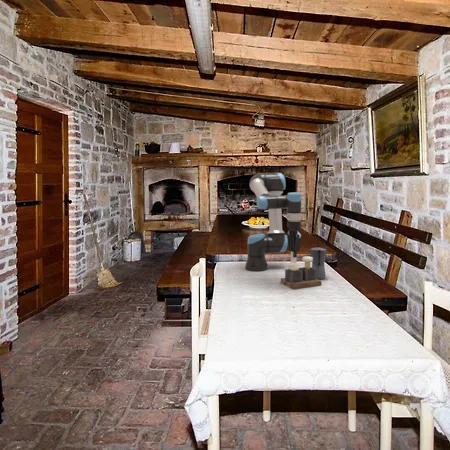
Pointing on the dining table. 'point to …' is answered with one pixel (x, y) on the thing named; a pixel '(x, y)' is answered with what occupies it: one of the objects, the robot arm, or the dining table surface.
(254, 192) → the robot arm
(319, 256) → the moka pot
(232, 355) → the dining table surface
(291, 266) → the plunger near
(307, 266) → the plunger far
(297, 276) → the mount
